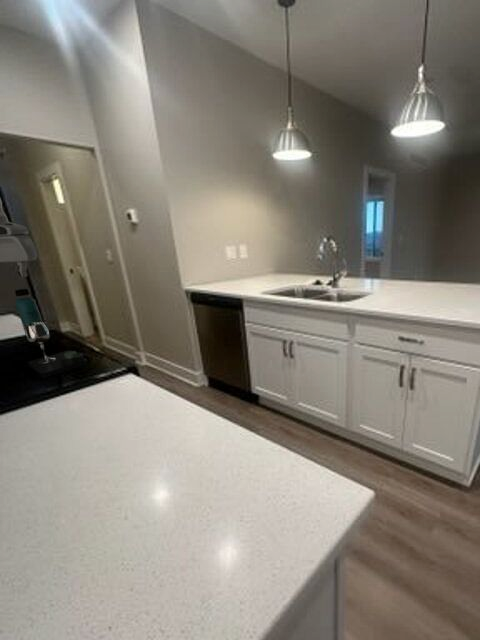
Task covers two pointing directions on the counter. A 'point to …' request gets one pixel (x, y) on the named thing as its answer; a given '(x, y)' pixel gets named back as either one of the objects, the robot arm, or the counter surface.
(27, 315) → the beverage bottle
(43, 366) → the scale
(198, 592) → the counter surface
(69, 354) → the tare button
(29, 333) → the wineglass
